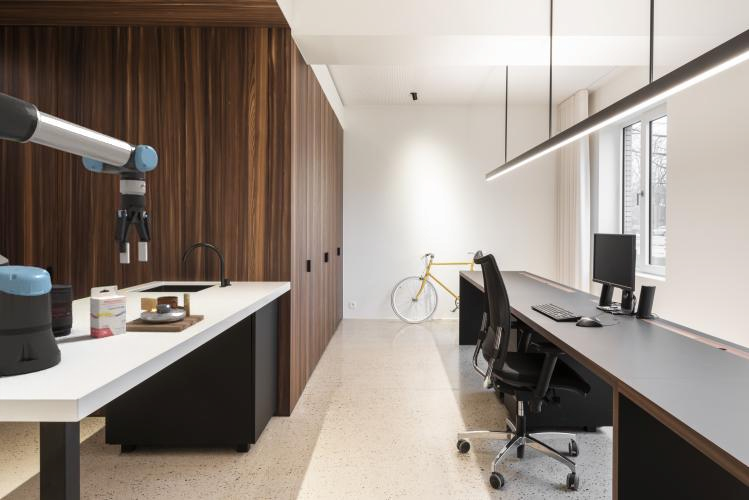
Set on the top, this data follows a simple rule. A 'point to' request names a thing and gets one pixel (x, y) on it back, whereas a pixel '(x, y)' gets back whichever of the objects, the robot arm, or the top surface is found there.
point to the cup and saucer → (169, 301)
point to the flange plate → (163, 316)
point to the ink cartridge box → (107, 312)
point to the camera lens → (61, 309)
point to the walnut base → (167, 326)
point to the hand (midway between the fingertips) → (134, 261)
